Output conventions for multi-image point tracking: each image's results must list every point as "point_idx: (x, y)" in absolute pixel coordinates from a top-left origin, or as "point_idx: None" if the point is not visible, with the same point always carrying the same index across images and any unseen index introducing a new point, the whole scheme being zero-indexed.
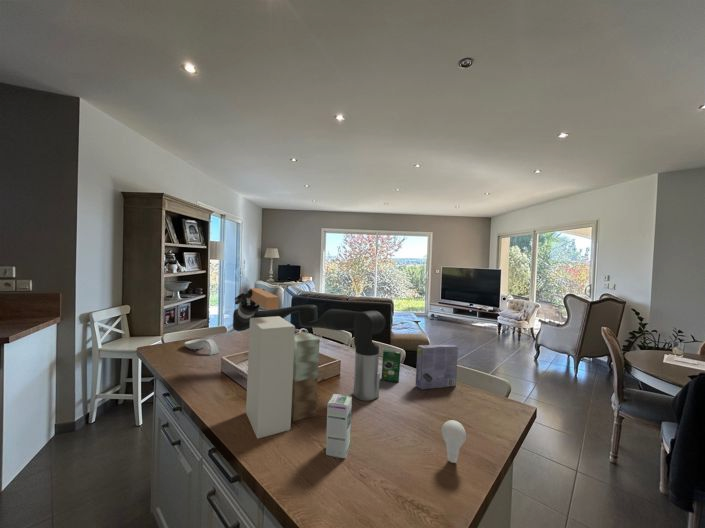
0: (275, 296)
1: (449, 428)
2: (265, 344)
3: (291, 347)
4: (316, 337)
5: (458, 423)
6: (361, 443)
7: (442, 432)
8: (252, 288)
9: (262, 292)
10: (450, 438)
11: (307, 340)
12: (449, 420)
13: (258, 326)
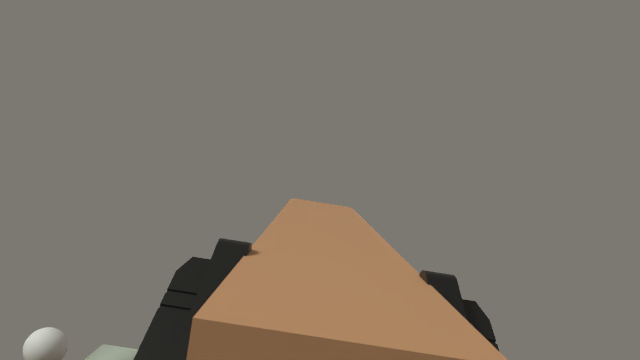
0: (302, 201)
1: (63, 336)
2: None
3: None
4: (94, 354)
5: (47, 327)
6: None
7: (57, 354)
8: (414, 335)
9: (331, 224)
10: (67, 347)
11: None
12: (42, 334)
13: None
